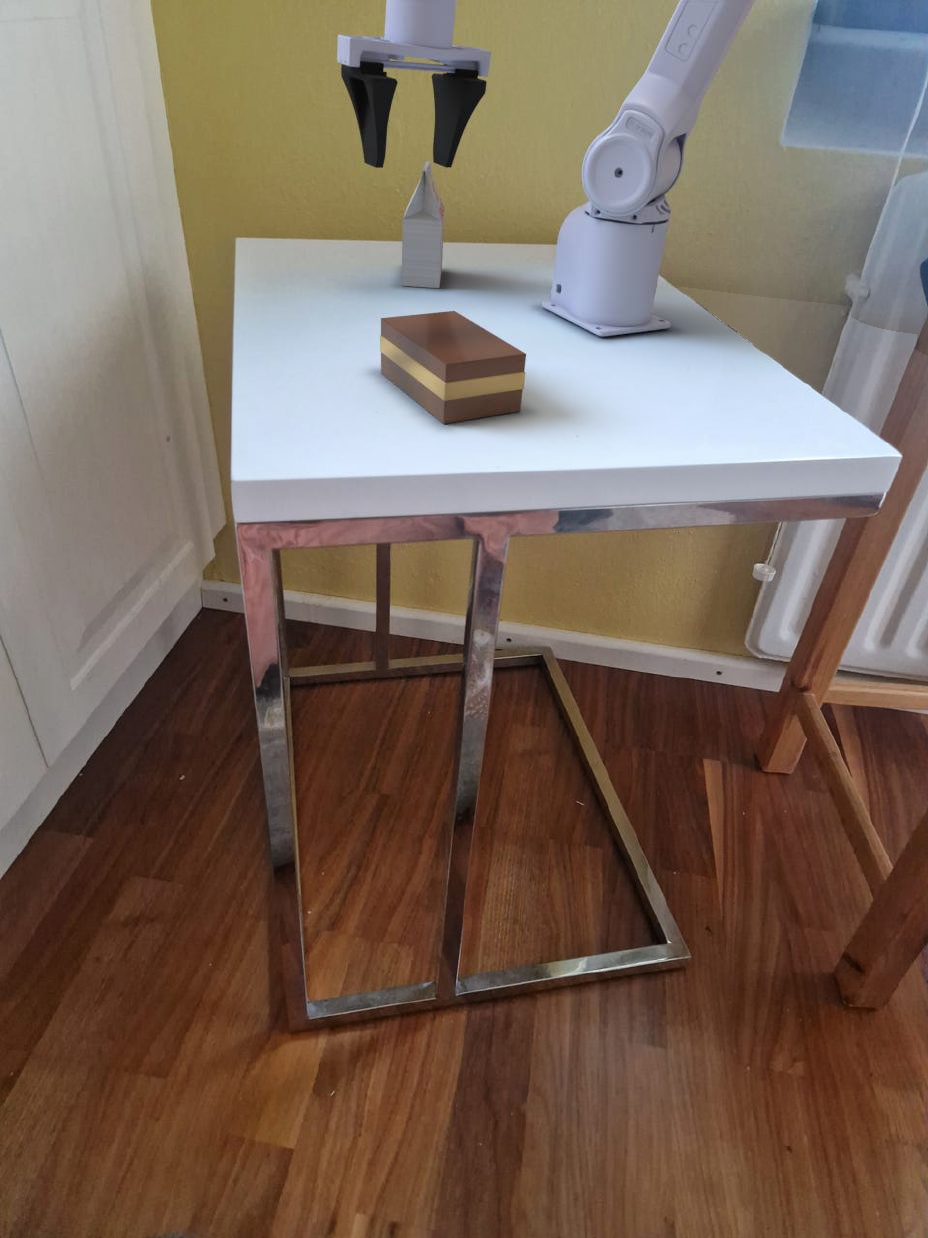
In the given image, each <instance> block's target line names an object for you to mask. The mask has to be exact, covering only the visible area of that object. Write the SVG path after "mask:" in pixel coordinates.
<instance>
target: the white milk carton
mask: <svg viewBox="0 0 928 1238" xmlns="http://www.w3.org/2000/svg"><path fill="white" fill-rule="evenodd" d="M439 192H440V191H439V190H438V188H437V185H436V182H435V179H434V175H433V171H432V167H431V161H430V160H429V161H427V160H426V161H425V163H424V166H423V169H422V171H421V176H420V179H419V181H418V184H417V185H416V188H415V190H414V191H413V194H412V196H411V198H410V200H409V202H408V204H407V206H406V208H405V209H406V210H405V212H404V214H403V217H402V229H401V231H402V232H401V234H402V235H401V287H414V288H428V289H440V286H441V279H442V274H443V273H442V272H443V251H444V228H445V206H444V204H443V200H442V198H441V196H440V195H441V194H440V193H439Z"/></svg>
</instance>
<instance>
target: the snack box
mask: <svg viewBox="0 0 928 1238" xmlns="http://www.w3.org/2000/svg"><path fill="white" fill-rule="evenodd" d="M379 351H380V373H381V375H383V376H384V377H385V378H386V379H388V380H389V381H390V382H391V383H392V384H394V385H395V386H396V387H398V388H399V389H400V390H401V391H402V392H404V393H405V394H406V395H408V397H410V398H411V399H412V400H413V401H415V402H416V403H417V404H418V405H420V406H421V407H422V408H423V409H425V410H426V411H427V412H428V413H429V414H431V415H432V416H433V417H434V418H435V419H436V420H438V421H439V422H441V423H442V424H443V425H446V424H451V423H458V422H465V421H469V420H477V419H481V418H483V419H484V418H489V417H494V416H500V415H505V414H506V415H507V414H512V413H519V412H521V410H522V409H521V407H522V397H523V390H524V389H525V388H524V387H525V380H526V371H525V368H526V358H527V353H525V352H524V351H522V350H520V349H519V348H517V347H515V346H514V345H512V344H510V343H509V342H507V341H505V340H504V339H502V338H500V337H499V336H497V335H496V334H494V333H492V332H490V331H489V330H487V329H485V328H484V327H482V326H481V325H479V324H478V323H475V322H474V321H473V320H471V319H469V318H468V317H465V316H464V315H462V314H461V313H459V312H457V311H456V310H449V311H448V310H447V311H440V312H439V311H438V312H428V313H420V314H408V315H399V316H398V315H397V316H388V317H381V318H380V334H379Z"/></svg>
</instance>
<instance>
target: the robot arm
mask: <svg viewBox="0 0 928 1238" xmlns="http://www.w3.org/2000/svg"><path fill="white" fill-rule="evenodd" d="M755 2H756V0H679V2H678V3H677V6H676V7H675V9H674V12H673V13H672V16H671V18H670V20H669V22H668V24H667V26H666V28H665V30H664V32H663V34H662V37H660V41H659V43H658V44H657V46H656V49H655V50H654V53H653V55H652V57H651V59H650V62H649V64H648V65H647V68H646V69H645V71H644V73H643V75H642V76H641V77H640V79H639V80H638V81H637V83H636V84H635V86H634V87H633V88H632V90H630V92H629V94H628V95H627V96H626V98H625V99H624V101H623V102H622V105H621V106H620V109H619V110H618V113H616V116H615V118H614V120H613V121H612V122H611V124H609V126H608V127H607V128H606V129H604V131H602V132H601V133H599V134H598V135H597V136H596V137H595V139H593V141H592V142H591V143H590V144H589V146H588V148H587V150H586V152H585V153H584V157H583V161H582V164H581V182H582V188H583V191H584V194H585V196H586V197H587V199H588V201H586V202H584V204H582V205H579V206H577V207H575V208H574V209H573V210H572V211H570V212H569V213H568V215H567V216H566V217H565V218H564V221H562V224H561V226H560V228H559V230H558V231H559V232H558V235H557V241H556V250H555V258H554V264H553V266H554V267H553V275H552V282H551V283H552V285H551V292H550V300H544V301H542V303H541V306H542V308H544V309H546V310H547V311H550V312H552V313H553V314H555V315H558V316H559V317H561V318H563V319H565V320H567V321H569V322H571V323H573V324H575V325H577V326H579V327H580V328H583V329H584V330H586V331H588V332H591V333H592V334H593V335H594V334H595V335H597V336H598V337H610V336H617V335H625V334H635V333H643V332H649V331H658V330H665V329H670V328H671V326H672V323H671V322H670V321H668V320H666V319H664V318H662V317H660V316H658V315H655V314H653V307H654V302H655V297H656V291H657V287H658V282H659V275H660V271H661V266H662V261H663V255H664V251H665V246H666V245H665V244H666V239H667V234H668V229H669V225H670V217H671V214H672V208H670V204H669V201H668V199H667V197H666V194H668V193H669V192H670V191H671V190H672V189H673V188H674V186H675V185H676V183H677V182H678V180H679V178H680V176H681V173H682V171H683V167H684V162H685V161H684V160H685V149H686V145H687V142H688V139H689V136H690V135H691V133H692V131H693V129H694V127H695V126H696V122H697V119H698V117H699V113H700V109H701V106H702V103H703V99H704V97H705V95H706V94H707V92H708V90H709V88H710V86H711V84H712V83H713V80H714V79H715V77H716V75H717V73H718V71H719V69H720V67H721V66H722V63H724V60H725V58H726V56H727V54H728V53H729V50H730V49H731V47H732V45H733V43H734V41H735V40H736V37H737V36H738V34H739V32H740V30H741V28H742V26H743V25H744V23H745V22H746V21H745V20H746V19H747V17H748V15H749V13H750V11H751V9H752V8H753V5H754V4H755ZM456 8H457V0H385V18H384V19H385V20H384V36H369V35H367V36H366V35H351V34H350V35H348V34H338V35H337V49H336V50H337V51H336V52H337V53H336V63H338V64H340V75H341V79H342V81H343V84H344V86H345V88H346V90H347V92H348V96H349V99H350V102H351V105H352V107H353V110H354V114H355V117H356V121H357V126H358V131H359V135H360V141H361V148H362V154H363V161H364V164H366V165H369V166H371V167H373V168H376V169H383V168H384V164H385V160H386V152H387V138H388V126H389V120H390V119H389V118H390V113H391V109H392V105H393V101H394V98H395V97H394V96H395V93H396V89H397V86H398V80H397V79H396V78H393V77H390V76H387V75H388V72H387V71H384V69H392V70H393V69H395V70H405V71H406V70H408V71H419V72H434V73H433V74H432V75H431V82H432V83H431V84H432V90H433V101H434V104H433V105H434V128H433V130H434V131H433V141H432V142H433V143H432V161H433V163H434V164H436V165H439V166H440V167H444V168H445V169H446V168H448V169H449V168H452V166H453V164H454V160H455V157H456V155H457V151H458V148H459V145H460V143H461V139H462V137H463V135H464V132H465V130H466V127H467V125H468V123H469V121H470V119H471V117H472V115H473V113H474V112H475V110H476V108H477V106H478V105H479V103H480V102H481V100H482V98H483V97H484V96H485V94H486V91H487V83H488V82H487V80H485V79H482V78H479V77H485V78H488V77H489V73H490V64H491V56H492V51H491V50H487V49H483V48H479V47H473V46H472V47H471V46H463V45H455V44H453V43H454V32H455V31H454V30H455V19H456ZM406 57H407V58H408V57H409V58H417V59H425V60H429V61H431V62H435V63H426V62H413V61H405V60H406Z"/></svg>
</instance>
